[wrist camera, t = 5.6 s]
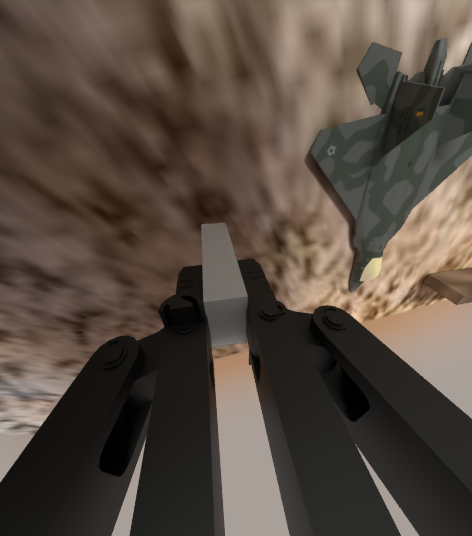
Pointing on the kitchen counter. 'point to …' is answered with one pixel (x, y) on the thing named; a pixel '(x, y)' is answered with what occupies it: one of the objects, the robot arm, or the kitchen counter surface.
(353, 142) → the fighter jet
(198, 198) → the kitchen counter surface
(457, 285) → the brown wooden bracket
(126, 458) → the robot arm
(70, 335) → the kitchen counter surface
